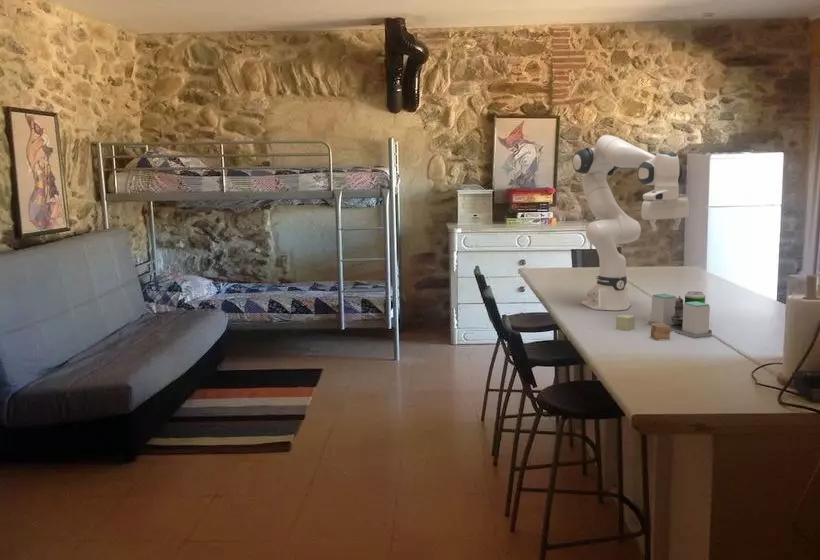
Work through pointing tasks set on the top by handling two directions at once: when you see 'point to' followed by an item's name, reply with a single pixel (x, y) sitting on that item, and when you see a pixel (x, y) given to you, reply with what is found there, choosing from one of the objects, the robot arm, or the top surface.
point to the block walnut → (660, 331)
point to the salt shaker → (678, 314)
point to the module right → (696, 317)
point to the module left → (663, 308)
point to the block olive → (625, 322)
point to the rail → (679, 330)
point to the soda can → (695, 297)
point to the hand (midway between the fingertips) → (665, 230)
